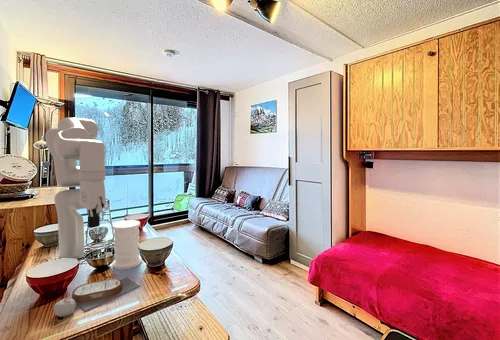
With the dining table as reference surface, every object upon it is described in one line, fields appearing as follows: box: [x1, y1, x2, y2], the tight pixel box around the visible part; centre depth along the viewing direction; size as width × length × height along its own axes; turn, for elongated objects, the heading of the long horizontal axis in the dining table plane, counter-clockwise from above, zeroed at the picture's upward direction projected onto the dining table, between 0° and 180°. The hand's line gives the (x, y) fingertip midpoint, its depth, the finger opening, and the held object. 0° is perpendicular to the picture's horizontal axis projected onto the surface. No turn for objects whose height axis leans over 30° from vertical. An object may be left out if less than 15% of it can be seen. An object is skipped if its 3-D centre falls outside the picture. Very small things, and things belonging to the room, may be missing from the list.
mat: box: [76, 276, 141, 313], centre depth 86 cm, size 10×18×1 cm, turn 144°
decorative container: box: [112, 219, 143, 270], centre depth 108 cm, size 12×12×18 cm
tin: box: [71, 278, 123, 304], centre depth 85 cm, size 15×3×8 cm
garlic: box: [53, 296, 77, 317], centre depth 75 cm, size 6×5×5 cm
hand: (93, 226), depth 87 cm, fingers closed
